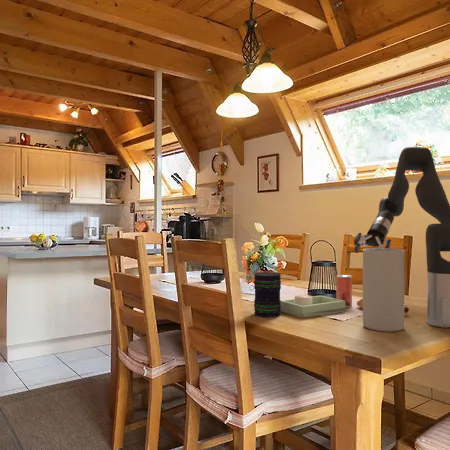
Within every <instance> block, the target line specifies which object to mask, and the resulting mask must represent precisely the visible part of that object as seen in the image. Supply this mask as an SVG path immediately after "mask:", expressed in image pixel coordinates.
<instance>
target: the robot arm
mask: <svg viewBox="0 0 450 450" xmlns="http://www.w3.org/2000/svg"><path fill="white" fill-rule="evenodd" d="M406 171H416V172H418V171H419V172H422V176H421V178H420V179H419V180H418V182H417V184H416V187H415V188H414V189H415V190H414V191H415V196H416V198H417V202H418V204H419V206H420V208H422V210H423V211H425V212H426V213H427V214H429V215H430V216H432V217H433V218H435V220H437V221H438V223H429V224H428V225H427V227H426V231H425V250H426V253H425V254H426V267H427V268H426V270H427V271H426V272H427V273H426V286H427V287H426V323H427V324H428V325H430V326H433V327H439V328H442V329H444V328H450V261H449V260H447V259H445V258H444V257H442V253H441V252H444V253H445V252H449V253H450V202H449V200H448V197H447V194H446V192H445V189H444V186H443V184H442V182H441V180H440V178H439V175H438V172H437V169H436V166H435V162H434V158H433V154H432V152H431V150H430V149H429V148H427V147H423V146H407V147H403V149H402V150H401V152H400V155H399V158H398V162H397V166H396V169H395V173H394V178H393V181H392V183H391V184H392V185H391V187H390V189H389V191H388V194H387V196H384V197H382V198H381V199H380V201H379V205H378V213H377V215H376V217H375V219H374V220H373V222H372V224H371V225H370V227H369V229H368V231H367V232H366V234H365V235H364V234H362V232H358V233H357V235H356V236H355V238H354V239H353V246H355V247H354V252H355V254H358V253H359V251H360V249H361V248H362V247H366V246H369V247H373V248H385V249H391V246H392V245H391V244H392V239H387V240H386V237H387V236H388V234H389V232H390V229H391V226H392V224H393V222H394V220H395V217H399V216H401V214H403V211H404V208H405V204H404V203H405V199H406V196H407V194H408V193H409V191H410V190H409V189H410V183H409V181H408V178H407V176H406ZM383 245H385V246H384V247H383Z"/></svg>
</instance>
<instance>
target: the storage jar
mask: <svg viewBox="0 0 450 450" xmlns="http://www.w3.org/2000/svg"><path fill="white" fill-rule="evenodd" d="M281 276H282V275H281V273H280V272H275V271H274V272H270V271H267V272H266V271H262V272H254V275H253V284H254V287H253V288H254V300H253V301H254V302H253V303H254V304H253V309H254V313H253V314H254V316H255V317H258V318H259V317H260V318H278V317H281V314H282V312H280V311H281V309H280V308H281V301H282V300H281V289H282V288H281V284H282V280H281V279H282V278H281Z"/></svg>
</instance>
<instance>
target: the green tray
mask: <svg viewBox="0 0 450 450" xmlns="http://www.w3.org/2000/svg"><path fill="white" fill-rule="evenodd" d="M280 309H281V311H280V313H283V314H287V315H291V316H295V317H298V318H301V319H307V318H311V317H319V316H323V315H324V316H325V314H326V315H331V313H332V314H337V313H336V312H338V313H343V312H342V311H344V312H346V307H345V301H344V300H340V299H337V298H334V297H330V296H325V295H315V296H312V305H307V306H301V305H297V304H295V298H291V299H285V300H281V308H280Z"/></svg>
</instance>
